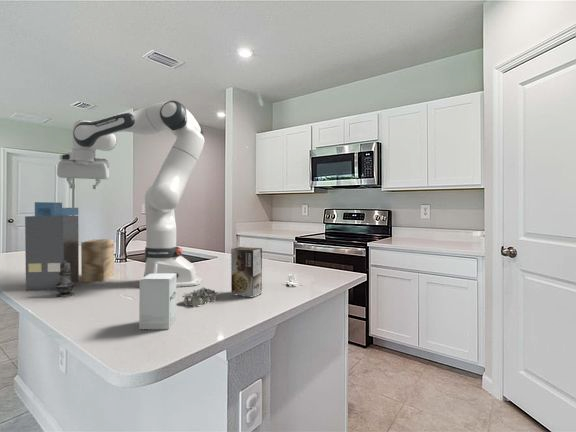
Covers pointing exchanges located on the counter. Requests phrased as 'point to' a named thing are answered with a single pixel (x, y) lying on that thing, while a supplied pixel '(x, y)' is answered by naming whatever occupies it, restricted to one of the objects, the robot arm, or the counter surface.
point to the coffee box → (246, 271)
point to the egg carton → (199, 296)
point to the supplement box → (157, 301)
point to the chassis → (50, 250)
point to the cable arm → (53, 210)
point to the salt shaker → (65, 281)
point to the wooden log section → (97, 260)
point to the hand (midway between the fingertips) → (83, 188)
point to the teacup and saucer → (292, 279)
